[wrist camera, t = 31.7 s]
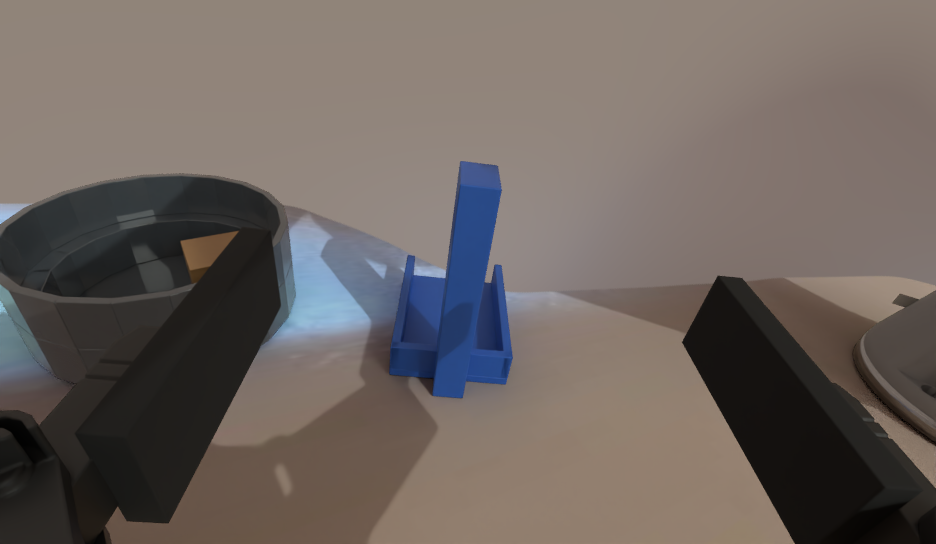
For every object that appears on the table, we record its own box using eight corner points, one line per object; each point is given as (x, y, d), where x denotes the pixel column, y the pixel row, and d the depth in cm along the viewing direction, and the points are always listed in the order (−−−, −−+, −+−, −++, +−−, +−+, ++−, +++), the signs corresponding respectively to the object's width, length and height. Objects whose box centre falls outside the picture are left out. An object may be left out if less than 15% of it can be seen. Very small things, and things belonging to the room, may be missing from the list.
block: (201, 316, 32) (189, 270, 30) (191, 285, 35) (179, 240, 32) (261, 301, 34) (254, 256, 32) (247, 272, 37) (240, 230, 35)
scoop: (507, 402, 30) (564, 196, 22) (386, 392, 29) (395, 176, 21) (496, 288, 40) (532, 119, 32) (406, 279, 40) (417, 104, 31)
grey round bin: (338, 298, 37) (335, 221, 33) (130, 442, 25) (85, 348, 21) (206, 229, 42) (190, 157, 38) (-18, 320, 30) (-75, 227, 26)
